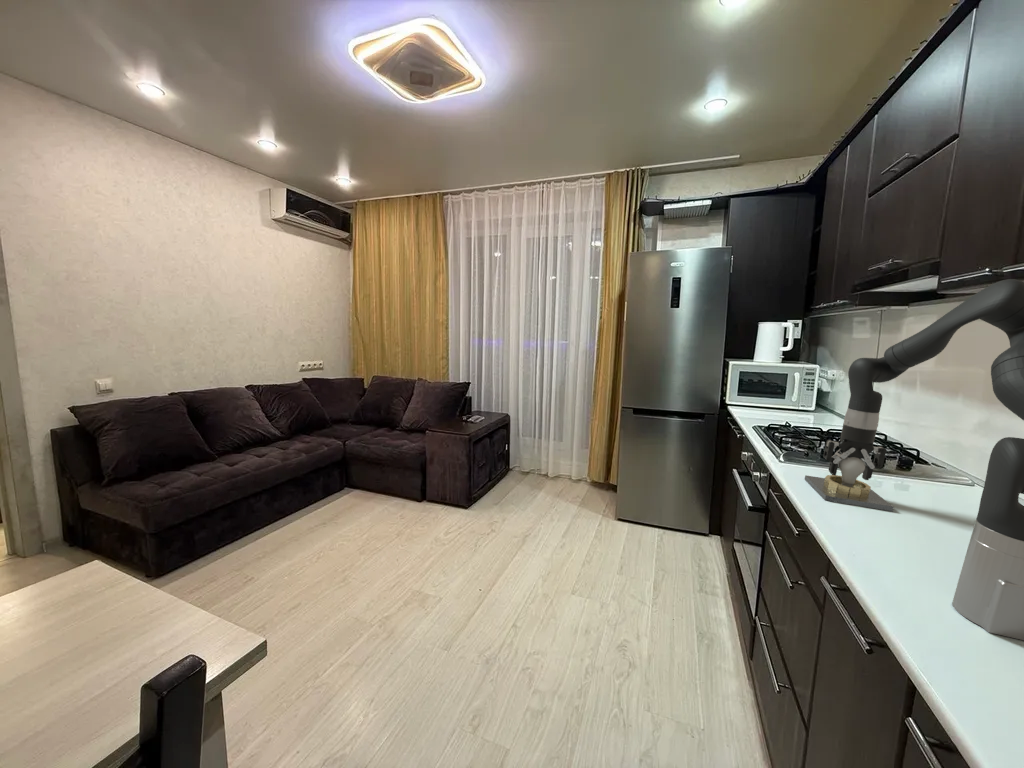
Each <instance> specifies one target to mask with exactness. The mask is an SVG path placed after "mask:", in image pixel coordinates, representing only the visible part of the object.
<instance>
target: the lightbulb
mask: <svg viewBox="0 0 1024 768" xmlns="http://www.w3.org/2000/svg"><path fill="white" fill-rule="evenodd" d="M837 464H838V468H839V471H840V473H841V476H842V485H845V486H848V487H853V484H854V483H855V481H856V480H858V477H859V476H861V475H863V472H864V470H865V466H866V465H865V463H864V461H863V460H862V459H859V458H856V457H850V458H848V457H846V458H845V459H842V460H841V461H839V462H838V463H837Z"/></svg>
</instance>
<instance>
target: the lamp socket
mask: <svg viewBox="0 0 1024 768" xmlns="http://www.w3.org/2000/svg"><path fill="white" fill-rule="evenodd" d="M803 480H804V481H805V482H807V484H808V485H809V486H810V487H811V488H812V489H813V490H814V491H815V492H816V493H817V494H818V495H819V496H820V497H821V498H822V500H823V501H827V502H833V503H837V504H838V503H839V504H844V505H850V506H854V507H855V506H856V507H862V508H868V509H875V510H880V511H886V512H894V508H895V507H894V506H893V504H891V503H890V502H888V501H887V500H886V499H885V498H883V497H882V496H880V495H879V494H878V493H877V492H875V491H874V490H873V489H871V488H872V487H871V486H870V485H869V484H867V482H863V481H861V480H858V479H856V481H855V483H854V484H853V487H848V486H845V485H842V475H838V474H836V475H832V474H827V475H826V476H825V477H821V476H820V477H819V476H812V475H804V479H803Z"/></svg>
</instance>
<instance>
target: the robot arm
mask: <svg viewBox="0 0 1024 768" xmlns="http://www.w3.org/2000/svg"><path fill="white" fill-rule="evenodd" d="M977 320H981V321H983V322H985V323H988V324H990V325H992V326H993V327H995V328H997V329H999V330H1001V331H1003V332H1004V333H1005V334H1006V335H1007V338H1008V341H1009V346H1010V347H1008V348H1007V349H1005V350H1004V351H1002V352H1001V353H1000V354H999V355H997V356H996V358H994V360H993V361H992V364H991V366H990V376H991V385H992V391H993V394H994V395H995V397H996V398H997V400H998V401H999V402H1000V403H1001V404H1002V405H1003V406H1005V408H1006V409H1008V410H1009V411H1010V412H1012V413H1013V414H1014V415H1016V416H1017V417H1018V418H1020V419H1021V420H1022V421H1024V281H1022V280H1019V279H1017V278H1016V279H1015V278H1007V279H1003V280H999V281H997V282H994V283H992V284H990V285H988V286H987V287H985V288H983V289H981V290H980V291H978V292H976V293H975V294H973V295H972V296H971V297H969V298H968V299H966V300H965V301H963V302H961V303H960V304H958V305H957V306H955V307H953V309H951V310H950V311H948V312H946V313H945V314H943V315H942V316H941V317H940V318H938V319H937V320H935V321H933V322H932V323H931V324H930V325H928V326H927V327H925V328H923V329H922V330H920V331H919V332H917V333H915V334H913V335H911V336H909V337H907V338H904V339H903V340H901V341H899V342H896V343H894V344H893V345H891V346H890V347H888V348H887V349H885V351H884V353H883V357H878V358H877V357H860V358H857V359H855V360H854V361H853V362H852V363H851V364H850V366H849V368H848V375H847V376H848V377H847V378H848V383H849V384H848V386H849V393H850V395H849V396H850V397H849V401H848V406H847V410H846V412H845V415H844V419H843V422H842V423H843V424H842V428H841V429H842V430H841V432H840V439H839V440H838V441H833V440H830V439H827V440H826V442H825V447H824V451H823V456H822V458H824V459H825V460H826V461H827V462H829V466H828V472H829V473H830V475H837V472H838V468H839V464H838V463H839V461H841V460H842V459H845V458H846V457H848V458H850V457H856V458H859V459H862V460H863V462H864V463H865V470H864V472H863V473H862V474H861V475H862V476H861V478H862V479H863V480H865V481H869V480H870V479H872V476H873V472H874V469H877V468H879V469H882V468H883V467H884V463H885V462H884V461H885V458H886V453H887V449H886V448H884V447H883V446H880V445H878V446H874V442H875V440H876V435H877V430H878V427H879V422H880V421H879V420H880V413H881V412H880V411H881V407H882V402H883V395H882V393H880V391H879V392H878V391H876V390H874V383H879V384H880V383H886V382H889V381H892V380H895V379H896V378H897V377H899V376H900V375H902V374H904V373H905V372H906V371H907V370H908V369H910V368H913V367H915V366H918V365H920V364H922V363H925V362H926V361H929V360H931V359H933V358H935V357H936V356H938V355H939V354H941V353H942V352H943V351H944V350H945V349H946V347H947V346H948V345H949V342H950V341H951V339H952V338H953V336H954V335H955V334H956V332H957V331H958V330H959V329H960V328H961V327H963V326H965V325H967V324H969V323H970V324H971V323H972V322H974V321H977ZM837 447H838V448H839V449H838V450H836V452H835V453H834V450H835V449H836V448H837ZM872 452H873V453H874V458H873V461H872V459H871V456H869V455H870V454H871V453H872ZM983 485H984V486H983V488H982V494H981V496H980V502H979V508H978V512H977V515H976V519H975V521H974V525H973V529H972V533H971V536H970V539H969V543H968V545H967V550H966V553H965V556H964V560H963V562H962V563H963V564H962V566H961V570H960V574H959V578H958V581H957V584H956V588H955V591H954V594H953V600H952V602H951V604H952V607H953V608H954V610H955V611H957V612H958V613H959V614H960V615H961V616H963V617H964V618H966V619H967V620H969V621H971V622H973V623H974V624H976V625H978V626H979V627H982V628H983V630H985V631H986V632H988V633H991V634H994V635H998V636H999V635H1000V636H1005V637H1008V638H1013V639H1017V640H1021V641H1024V504H1022V503H1020V502H1019V496H1020V494H1021V495H1024V438H1021V437H1014V436H1008V437H1006V436H1005V437H1003V438H1000V440H998V441H996V443H995V445H994V446H993V448H992V450H991V451H990V456H989V459H988V464H987V470H986V475H985V481H984V484H983Z"/></svg>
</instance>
